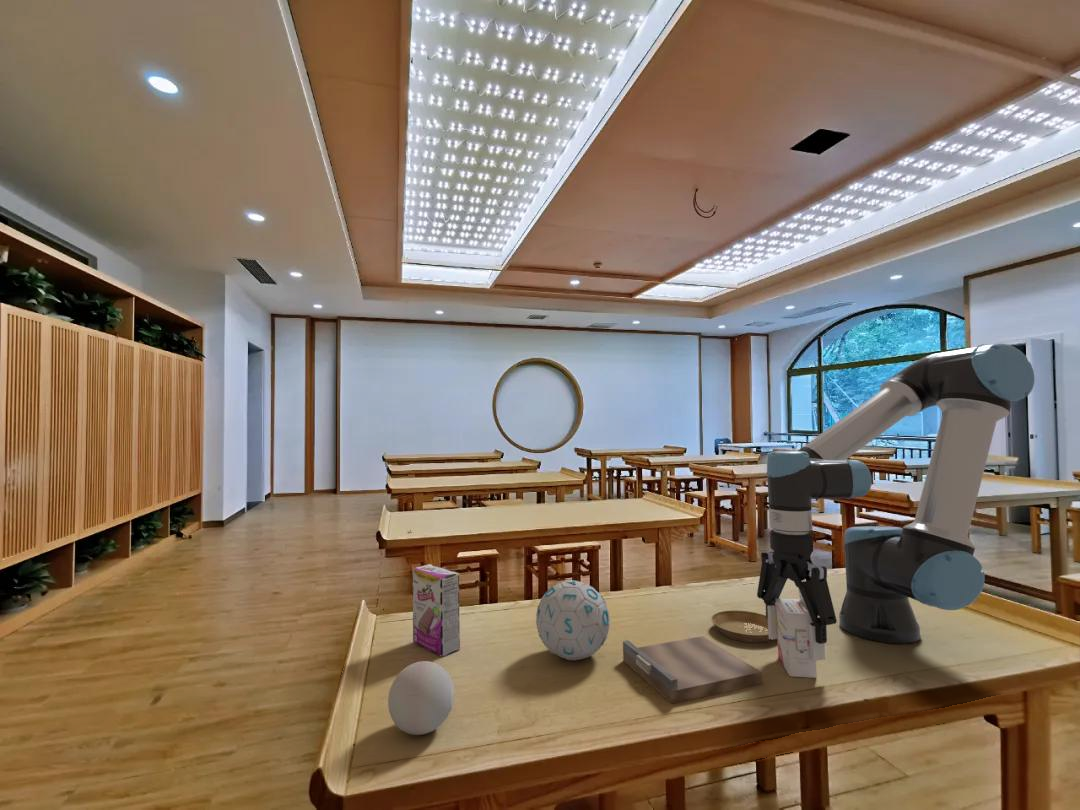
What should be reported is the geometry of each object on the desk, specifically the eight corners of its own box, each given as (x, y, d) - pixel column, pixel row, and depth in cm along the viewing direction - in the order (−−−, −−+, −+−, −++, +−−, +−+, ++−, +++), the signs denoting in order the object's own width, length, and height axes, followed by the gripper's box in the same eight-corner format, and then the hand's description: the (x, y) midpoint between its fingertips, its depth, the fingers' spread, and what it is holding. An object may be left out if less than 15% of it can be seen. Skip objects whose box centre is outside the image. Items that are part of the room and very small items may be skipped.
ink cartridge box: (776, 656, 102) (773, 582, 102) (803, 658, 101) (800, 583, 101) (788, 677, 93) (785, 596, 94) (817, 679, 92) (814, 597, 93)
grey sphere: (396, 713, 84) (396, 651, 84) (458, 710, 84) (457, 649, 85) (380, 751, 74) (380, 681, 74) (450, 748, 74) (450, 678, 75)
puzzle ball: (557, 680, 94) (555, 598, 94) (525, 649, 107) (524, 577, 108) (625, 663, 100) (623, 586, 101) (586, 635, 114) (585, 568, 114)
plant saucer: (738, 616, 124) (738, 605, 124) (796, 636, 112) (795, 624, 112) (698, 630, 116) (697, 618, 116) (755, 653, 104) (754, 640, 104)
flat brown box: (702, 645, 107) (702, 627, 108) (762, 683, 91) (761, 661, 91) (620, 661, 101) (620, 641, 101) (668, 704, 85) (668, 681, 85)
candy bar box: (411, 643, 111) (410, 567, 112) (430, 636, 115) (429, 563, 116) (441, 658, 104) (441, 577, 104) (461, 650, 107) (460, 572, 108)
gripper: (735, 522, 108) (739, 629, 106) (824, 544, 87) (830, 677, 86) (763, 519, 110) (767, 624, 109) (857, 540, 89) (863, 670, 88)
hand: (795, 648), depth 97 cm, fingers closed on ink cartridge box, 9 cm apart
